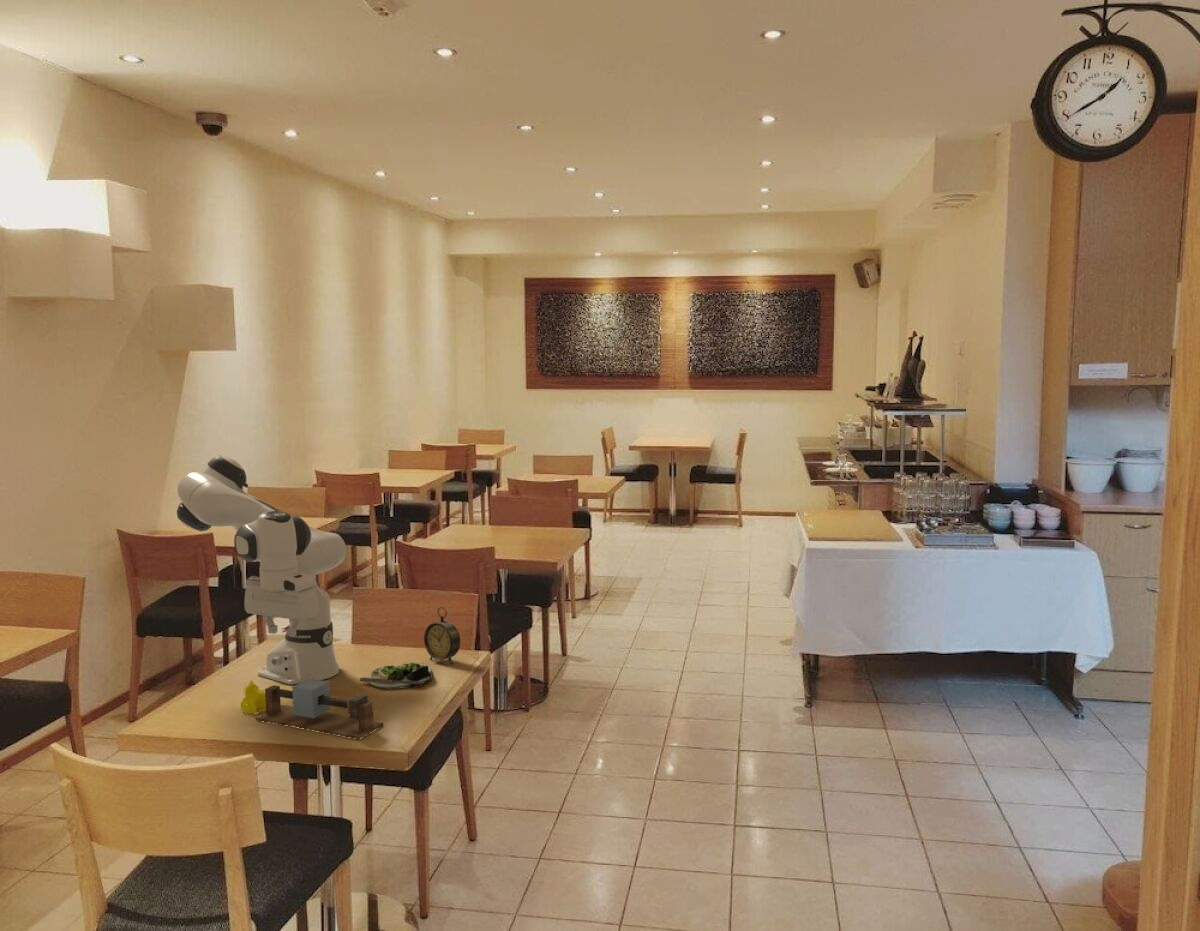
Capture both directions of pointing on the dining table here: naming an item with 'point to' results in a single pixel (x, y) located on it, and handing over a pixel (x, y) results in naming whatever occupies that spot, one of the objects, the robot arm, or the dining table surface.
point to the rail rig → (341, 725)
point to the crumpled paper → (253, 699)
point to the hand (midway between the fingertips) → (282, 634)
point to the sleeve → (310, 698)
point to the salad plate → (400, 676)
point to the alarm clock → (442, 639)
